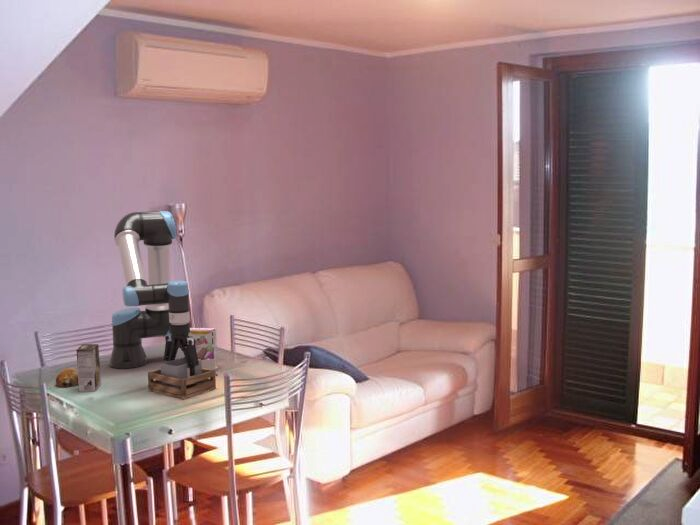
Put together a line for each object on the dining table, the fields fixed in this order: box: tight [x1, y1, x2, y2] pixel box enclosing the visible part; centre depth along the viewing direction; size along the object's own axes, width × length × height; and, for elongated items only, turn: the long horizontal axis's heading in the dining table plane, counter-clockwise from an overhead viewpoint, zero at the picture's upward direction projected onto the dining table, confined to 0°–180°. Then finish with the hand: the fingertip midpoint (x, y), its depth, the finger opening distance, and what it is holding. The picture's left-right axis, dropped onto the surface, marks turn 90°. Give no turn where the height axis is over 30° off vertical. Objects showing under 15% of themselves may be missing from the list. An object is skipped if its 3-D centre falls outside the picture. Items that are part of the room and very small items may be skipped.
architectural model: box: [201, 358, 219, 377], centre depth 311 cm, size 3×7×7 cm, turn 113°
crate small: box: [160, 356, 202, 388], centre depth 292 cm, size 9×12×8 cm
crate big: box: [147, 368, 217, 400], centre depth 293 cm, size 19×16×7 cm
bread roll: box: [55, 367, 79, 388], centre depth 303 cm, size 10×10×8 cm
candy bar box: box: [188, 327, 218, 367], centre depth 322 cm, size 11×5×16 cm, turn 84°
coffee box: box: [76, 343, 102, 393], centre depth 295 cm, size 9×6×16 cm
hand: (181, 381), depth 293 cm, fingers closed on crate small, 9 cm apart
